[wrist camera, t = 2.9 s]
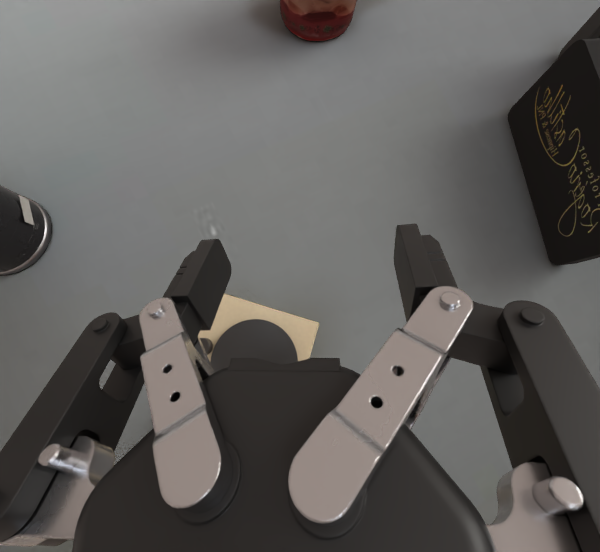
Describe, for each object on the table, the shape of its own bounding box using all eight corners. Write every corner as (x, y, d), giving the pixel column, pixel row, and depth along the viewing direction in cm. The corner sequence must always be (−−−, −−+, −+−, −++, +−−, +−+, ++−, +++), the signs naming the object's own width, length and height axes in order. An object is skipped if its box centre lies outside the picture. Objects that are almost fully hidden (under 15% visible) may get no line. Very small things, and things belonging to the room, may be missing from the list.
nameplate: (567, 265, 33) (683, 235, 23) (551, 267, 33) (661, 238, 23) (520, 112, 37) (600, 32, 27) (506, 113, 37) (581, 33, 27)
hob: (138, 501, 27) (121, 519, 25) (216, 292, 32) (209, 288, 29) (255, 543, 27) (250, 566, 24) (318, 323, 31) (320, 322, 28)
